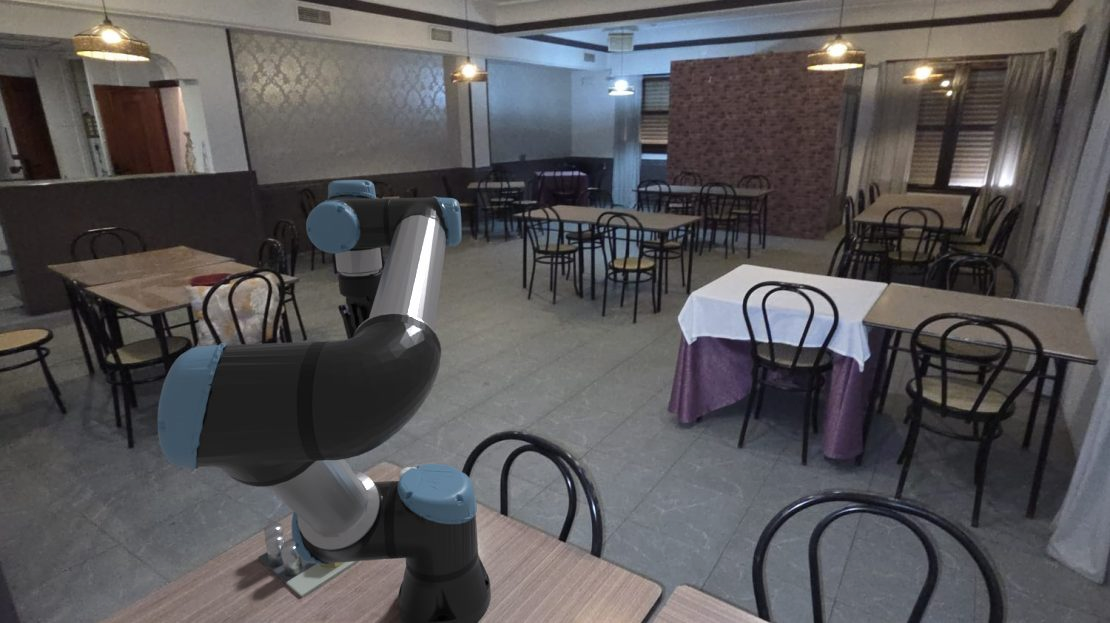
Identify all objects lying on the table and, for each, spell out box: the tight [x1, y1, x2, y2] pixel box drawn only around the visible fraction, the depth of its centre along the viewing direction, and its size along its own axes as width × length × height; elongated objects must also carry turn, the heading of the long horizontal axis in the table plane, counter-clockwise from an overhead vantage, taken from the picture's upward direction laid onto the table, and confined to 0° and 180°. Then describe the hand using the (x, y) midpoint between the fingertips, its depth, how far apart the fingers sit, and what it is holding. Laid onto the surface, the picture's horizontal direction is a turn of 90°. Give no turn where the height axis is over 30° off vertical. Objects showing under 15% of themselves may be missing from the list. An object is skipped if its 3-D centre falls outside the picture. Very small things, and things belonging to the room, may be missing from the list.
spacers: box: [263, 522, 303, 577], centre depth 109 cm, size 10×15×5 cm
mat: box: [258, 538, 360, 598], centre depth 109 cm, size 15×16×1 cm
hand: (373, 395), depth 108 cm, fingers closed
